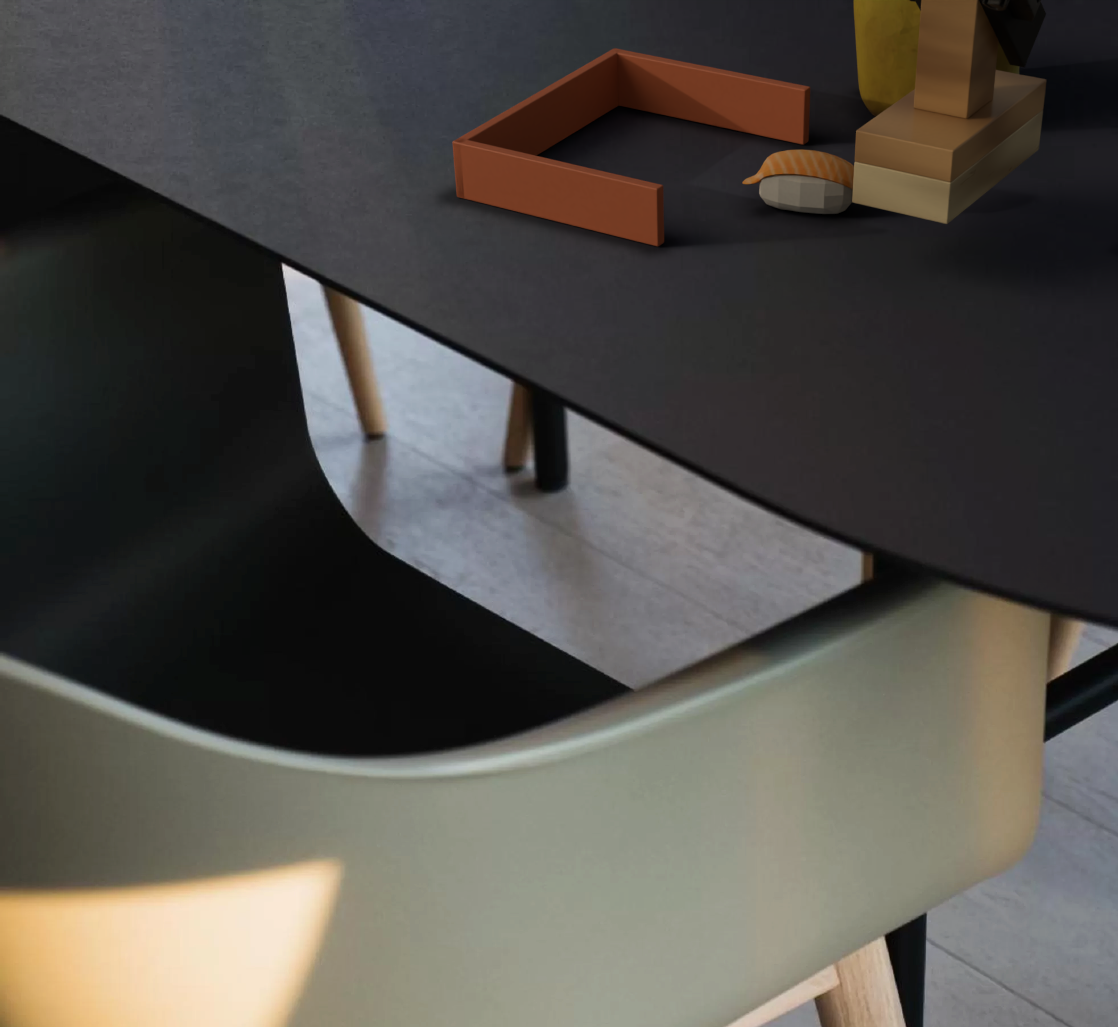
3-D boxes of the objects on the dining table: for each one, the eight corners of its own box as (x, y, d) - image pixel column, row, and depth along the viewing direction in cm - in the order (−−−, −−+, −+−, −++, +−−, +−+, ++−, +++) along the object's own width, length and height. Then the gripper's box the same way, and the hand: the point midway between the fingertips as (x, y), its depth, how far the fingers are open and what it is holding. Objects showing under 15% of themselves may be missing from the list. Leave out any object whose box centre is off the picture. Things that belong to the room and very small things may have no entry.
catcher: (809, 141, 111) (811, 86, 109) (658, 247, 102) (657, 189, 100) (615, 100, 117) (614, 47, 115) (456, 197, 108) (451, 141, 106)
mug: (1032, 119, 107) (998, -83, 104) (847, 160, 112) (808, -31, 108) (1080, 82, 117) (1050, -103, 113) (908, 122, 122) (874, -55, 118)
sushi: (858, 224, 103) (861, 166, 101) (735, 211, 105) (736, 154, 103) (870, 202, 105) (873, 145, 103) (749, 190, 107) (750, 134, 105)
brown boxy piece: (947, 130, 103) (975, -205, 93) (1039, 150, 101) (1078, -192, 91) (851, 202, 97) (870, -148, 87) (947, 224, 95) (978, -133, 85)
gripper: (628, -208, 81) (818, 77, 102) (999, -158, 73) (1121, 138, 94) (700, -388, 80) (875, -65, 101) (1079, -355, 73) (1183, -15, 94)
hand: (993, 32), depth 98 cm, fingers closed on brown boxy piece, 3 cm apart
